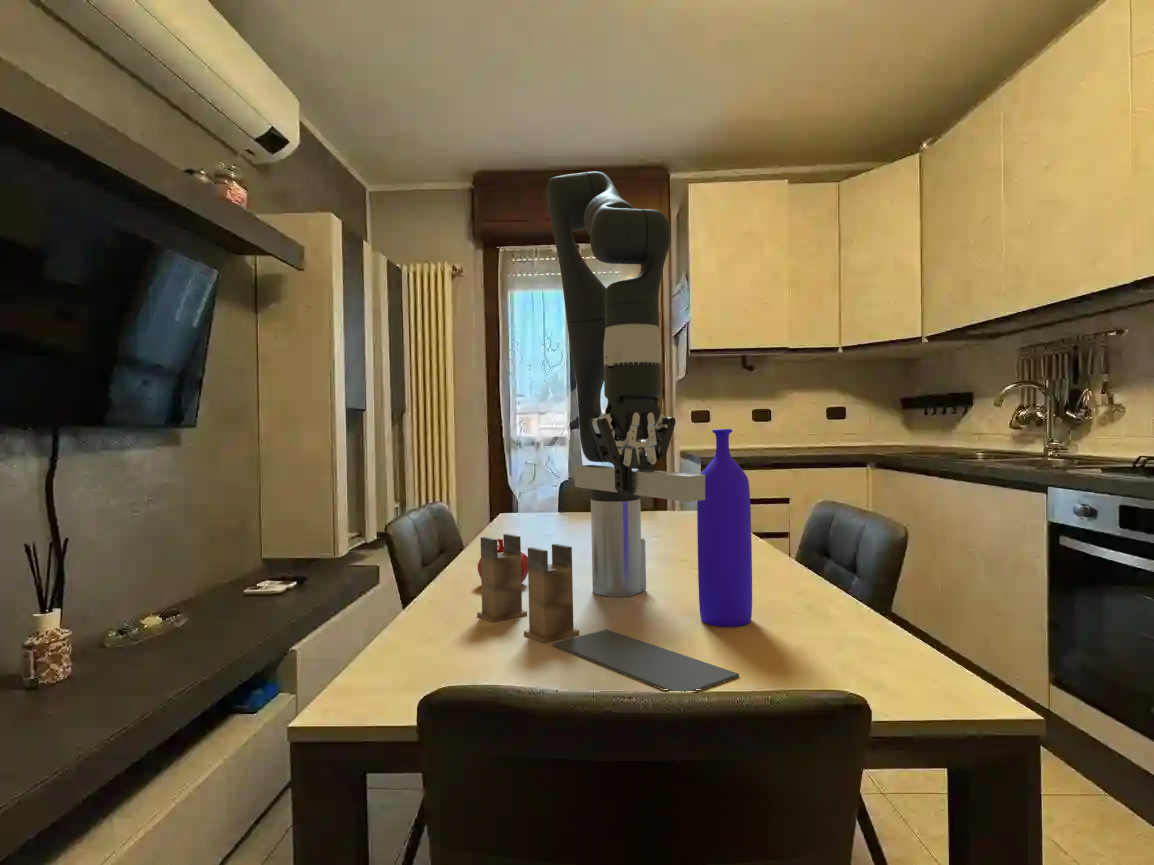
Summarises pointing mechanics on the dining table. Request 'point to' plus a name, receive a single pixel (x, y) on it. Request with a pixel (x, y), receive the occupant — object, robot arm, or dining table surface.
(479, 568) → the pomegranate
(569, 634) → the post
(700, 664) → the mat
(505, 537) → the post
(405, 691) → the dining table surface
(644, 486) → the rail
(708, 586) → the bottle
